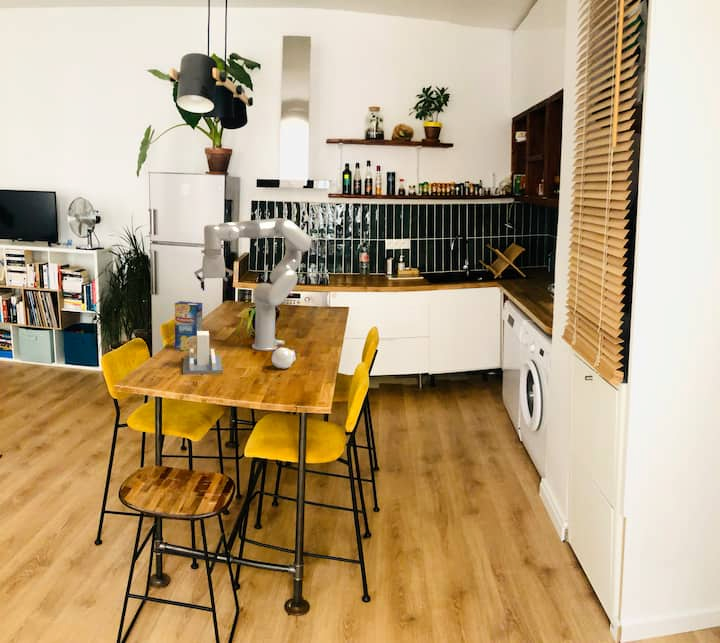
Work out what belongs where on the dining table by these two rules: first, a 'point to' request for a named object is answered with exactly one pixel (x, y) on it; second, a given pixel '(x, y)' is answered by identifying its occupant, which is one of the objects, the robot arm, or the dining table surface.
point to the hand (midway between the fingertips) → (214, 289)
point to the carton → (202, 347)
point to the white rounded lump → (283, 357)
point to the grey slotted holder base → (193, 368)
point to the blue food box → (187, 324)
